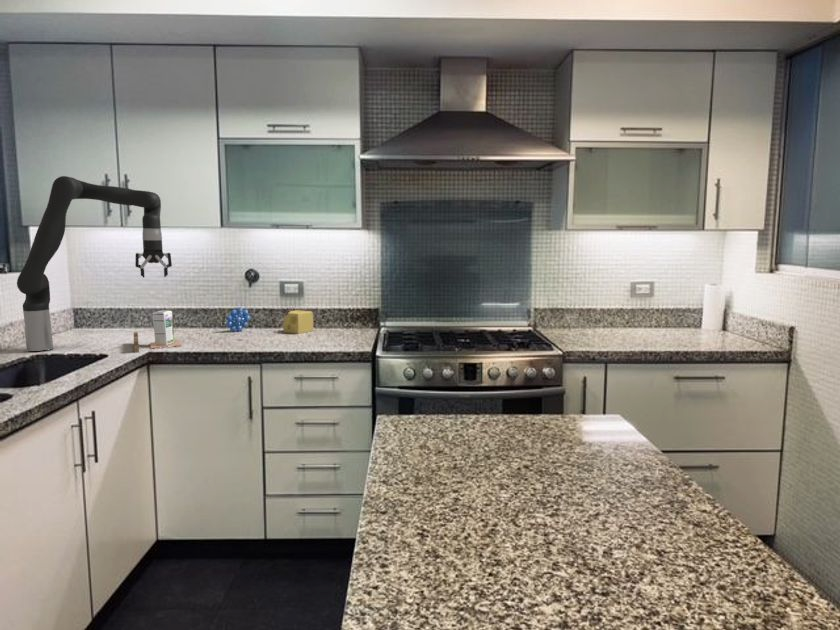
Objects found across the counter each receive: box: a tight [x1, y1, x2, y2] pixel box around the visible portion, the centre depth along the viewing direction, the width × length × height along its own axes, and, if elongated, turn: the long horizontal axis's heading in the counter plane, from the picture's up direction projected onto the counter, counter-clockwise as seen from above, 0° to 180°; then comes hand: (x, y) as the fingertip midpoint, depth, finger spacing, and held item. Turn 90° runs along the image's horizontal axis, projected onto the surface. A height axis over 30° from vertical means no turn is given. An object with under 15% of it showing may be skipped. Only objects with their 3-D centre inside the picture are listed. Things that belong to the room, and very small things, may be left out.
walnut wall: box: [133, 331, 140, 353], centre depth 251 cm, size 22×2×5 cm, turn 26°
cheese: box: [283, 309, 314, 335], centre depth 287 cm, size 10×11×10 cm
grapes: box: [225, 307, 251, 332], centre depth 289 cm, size 12×7×12 cm, turn 114°
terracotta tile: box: [149, 340, 182, 350], centre depth 256 cm, size 12×12×1 cm
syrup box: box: [152, 309, 176, 345], centre depth 255 cm, size 6×6×14 cm
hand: (154, 277), depth 253 cm, fingers open, 8 cm apart
